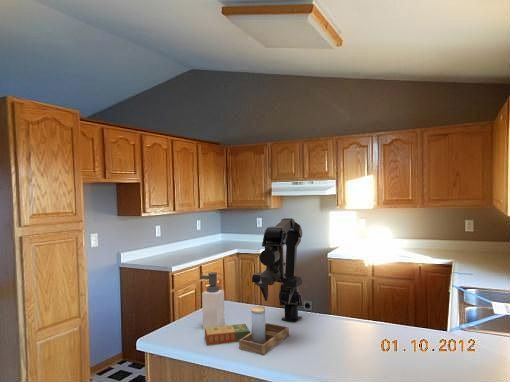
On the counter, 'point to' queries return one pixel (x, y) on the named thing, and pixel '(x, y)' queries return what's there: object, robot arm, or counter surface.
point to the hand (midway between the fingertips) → (276, 302)
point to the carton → (225, 334)
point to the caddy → (272, 339)
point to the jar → (258, 325)
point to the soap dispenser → (213, 303)
